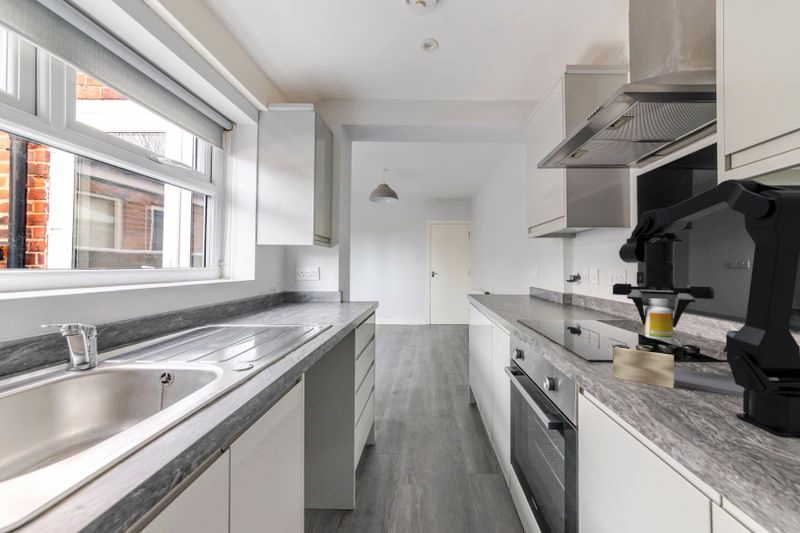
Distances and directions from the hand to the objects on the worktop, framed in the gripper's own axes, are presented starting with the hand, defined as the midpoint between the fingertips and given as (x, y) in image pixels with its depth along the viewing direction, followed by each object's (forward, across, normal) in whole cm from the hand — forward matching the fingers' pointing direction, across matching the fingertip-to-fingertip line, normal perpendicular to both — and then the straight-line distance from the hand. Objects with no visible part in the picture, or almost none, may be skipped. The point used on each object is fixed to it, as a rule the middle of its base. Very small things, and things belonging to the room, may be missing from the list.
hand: (658, 325), depth 77 cm
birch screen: (+12, +4, +8) cm, 15 cm away
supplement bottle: (+3, 0, 0) cm, 3 cm away
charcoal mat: (+12, -9, 0) cm, 15 cm away
